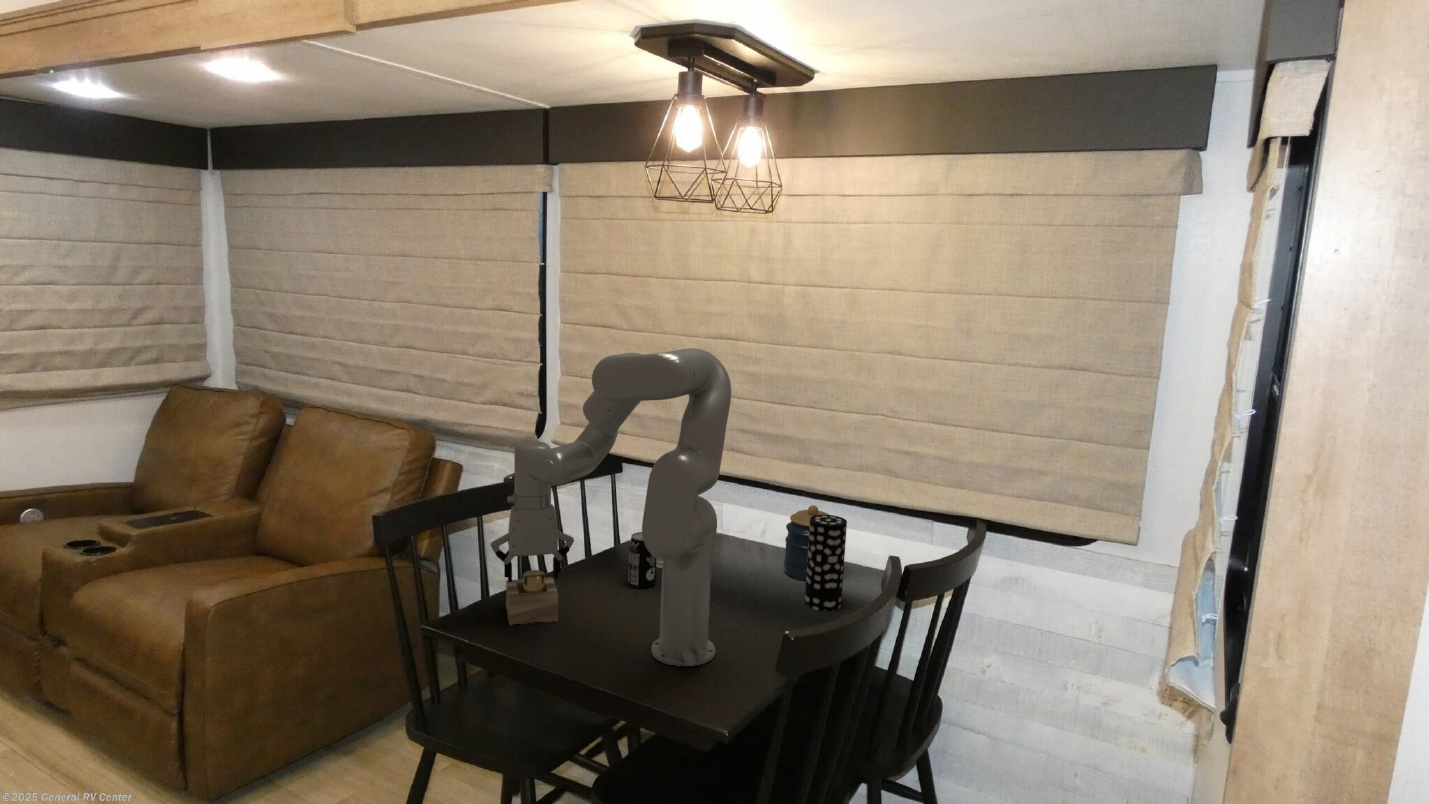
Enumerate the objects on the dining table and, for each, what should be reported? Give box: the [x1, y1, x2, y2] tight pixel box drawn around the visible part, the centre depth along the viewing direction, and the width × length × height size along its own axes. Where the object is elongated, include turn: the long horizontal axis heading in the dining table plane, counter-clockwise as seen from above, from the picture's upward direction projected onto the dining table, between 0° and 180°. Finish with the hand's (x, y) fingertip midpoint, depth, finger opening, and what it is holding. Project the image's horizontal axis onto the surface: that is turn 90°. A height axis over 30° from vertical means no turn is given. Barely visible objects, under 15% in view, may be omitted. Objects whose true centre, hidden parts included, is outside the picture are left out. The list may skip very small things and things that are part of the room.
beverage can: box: [627, 531, 657, 589], centre depth 200 cm, size 7×7×12 cm
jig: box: [505, 576, 559, 626], centre depth 181 cm, size 10×10×6 cm
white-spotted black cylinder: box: [804, 514, 848, 612], centre depth 193 cm, size 8×8×20 cm
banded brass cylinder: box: [522, 569, 545, 593], centre depth 181 cm, size 4×4×8 cm
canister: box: [783, 504, 830, 581], centre depth 212 cm, size 13×13×18 cm
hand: (532, 578), depth 181 cm, fingers open, 9 cm apart
